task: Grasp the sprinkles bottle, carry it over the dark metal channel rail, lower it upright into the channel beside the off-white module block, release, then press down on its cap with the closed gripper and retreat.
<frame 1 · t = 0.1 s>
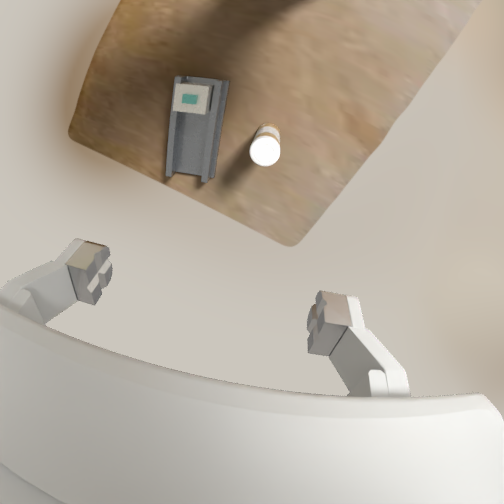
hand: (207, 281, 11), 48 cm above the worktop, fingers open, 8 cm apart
sprinkles bottle: (268, 133, 53), on the worktop
rail: (196, 126, 53), on the worktop
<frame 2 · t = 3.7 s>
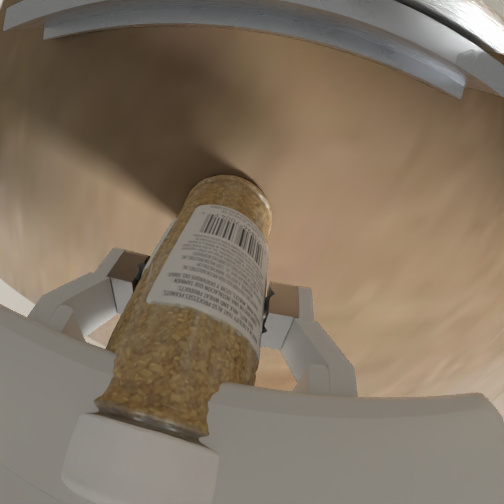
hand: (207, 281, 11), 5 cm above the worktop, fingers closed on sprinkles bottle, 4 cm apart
sprinkles bottle: (230, 212, 15), on the worktop, touching gripper
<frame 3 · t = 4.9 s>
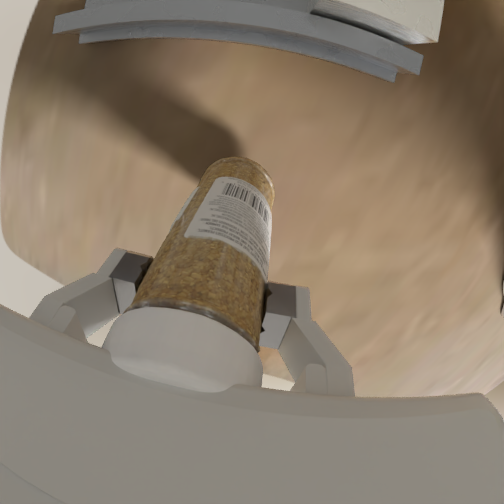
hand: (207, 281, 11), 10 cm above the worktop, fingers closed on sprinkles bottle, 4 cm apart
sprinkles bottle: (238, 189, 17), point 2 cm above the worktop, touching gripper
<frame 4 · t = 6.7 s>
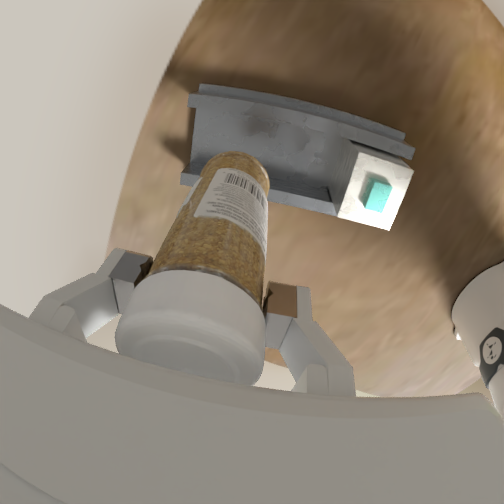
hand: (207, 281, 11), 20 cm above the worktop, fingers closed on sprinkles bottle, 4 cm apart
sprinkles bottle: (236, 181, 19), point 10 cm above the worktop, touching gripper
rail: (295, 149, 27), on the worktop
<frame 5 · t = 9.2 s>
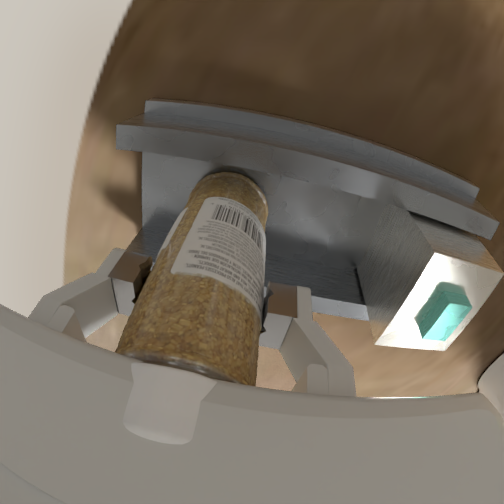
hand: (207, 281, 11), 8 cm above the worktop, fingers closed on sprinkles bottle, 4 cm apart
sprinkles bottle: (229, 206, 17), point 1 cm above the worktop, touching gripper, rail
rail: (309, 208, 17), on the worktop
when the fingers open (8 cm above the worktop, at t = 9.7 s): sprinkles bottle stays where it is, resting on rail.
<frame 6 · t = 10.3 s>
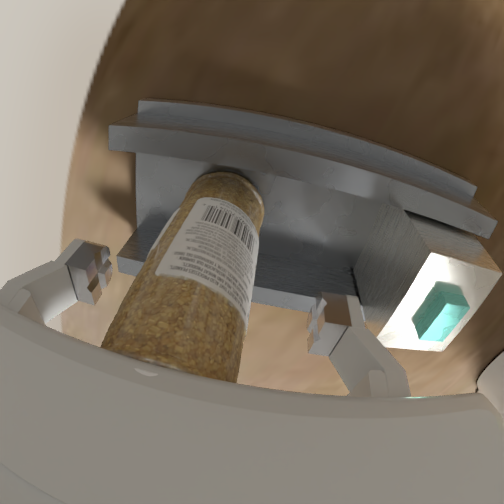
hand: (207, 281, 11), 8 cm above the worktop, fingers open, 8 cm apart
sprinkles bottle: (226, 205, 16), point 1 cm above the worktop, touching rail
rail: (305, 208, 17), on the worktop
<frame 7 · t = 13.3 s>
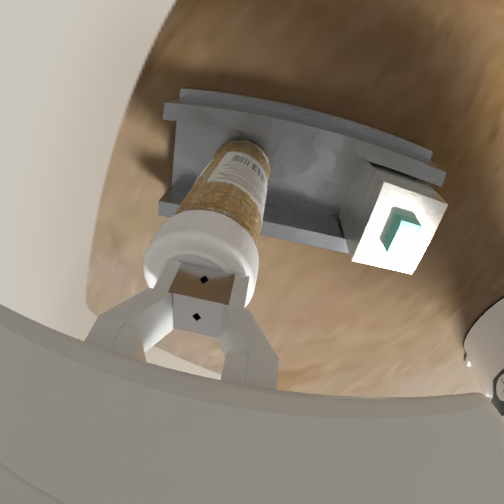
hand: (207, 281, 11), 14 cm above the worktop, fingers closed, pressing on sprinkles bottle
sprinkles bottle: (242, 166, 22), point 1 cm above the worktop, touching gripper, rail
rail: (300, 169, 22), on the worktop
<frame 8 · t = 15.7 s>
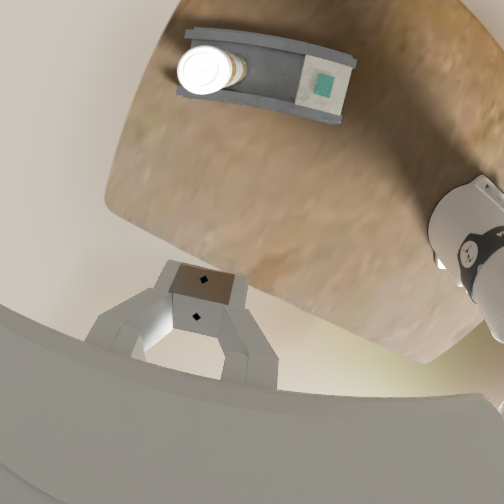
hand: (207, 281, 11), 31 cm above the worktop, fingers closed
sprinkles bottle: (229, 69, 31), point 1 cm above the worktop, touching rail
rail: (266, 71, 32), on the worktop
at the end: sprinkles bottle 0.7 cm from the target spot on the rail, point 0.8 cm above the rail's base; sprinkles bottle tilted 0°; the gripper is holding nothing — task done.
